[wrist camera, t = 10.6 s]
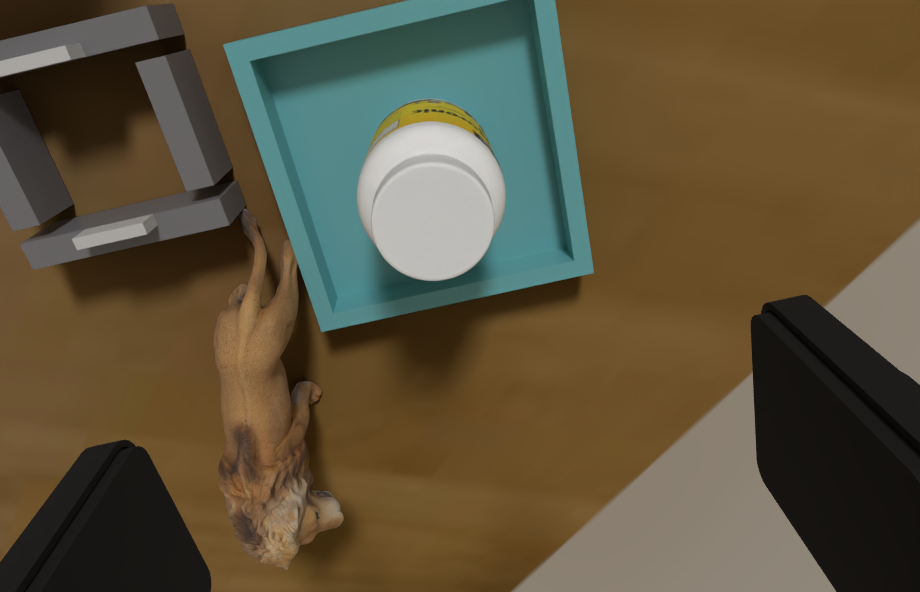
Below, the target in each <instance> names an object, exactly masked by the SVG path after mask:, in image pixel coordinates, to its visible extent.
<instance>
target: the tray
mask: <svg viewBox="0 0 920 592" xmlns="http://www.w3.org/2000/svg"><path fill="white" fill-rule="evenodd" d="M223 46H224V49H225V52H226V55H227V58H228V61H229V64H230V66H231V69H232V72H233V75H234V78H235V81H236V84H237V87H238V90H239V93H240V96H241V99H242V101H243V104H244V107H245V110H246V113H247V116H248V119H249V122H250V125H251V128H252V131H253V134H254V136H255V139H256V142H257V145H258V148H259V151H260V154H261V157H262V160H263V163H264V166H265V169H266V172H267V174H268V177H269V180H270V183H271V186H272V189H273V192H274V195H275V198H276V201H277V204H278V207H279V209H280V212H281V215H282V218H283V221H284V224H285V227H286V230H287V233H288V236H289V239H290V242H291V244H292V247H293V250H294V253H295V256H296V259H297V262H298V265H299V268H300V271H301V274H302V277H303V279H304V282H305V285H306V288H307V291H308V294H309V297H310V300H311V303H312V306H313V309H314V312H315V314H316V317H317V320H318V323H319V326H320V329H321V332H325V331H329V330H334V329H338V328H343V327H348V326H352V325H357V324H361V323H366V322H371V321H375V320H380V319H384V318H389V317H394V316H398V315H403V314H407V313H412V312H417V311H421V310H426V309H430V308H435V307H440V306H444V305H449V304H453V303H458V302H463V301H467V300H472V299H476V298H481V297H486V296H490V295H495V294H499V293H504V292H509V291H513V290H518V289H522V288H527V287H532V286H536V285H541V284H545V283H550V282H555V281H559V280H564V279H568V278H573V277H578V276H582V275H587V274H591V273H594V271H593V264H592V257H591V249H590V242H589V235H588V228H587V221H586V214H585V207H584V200H583V193H582V186H581V179H580V172H579V165H578V158H577V151H576V144H575V137H574V130H573V123H572V116H571V109H570V102H569V95H568V88H567V81H566V74H565V67H564V60H563V53H562V46H561V39H560V32H559V25H558V18H557V11H556V4H555V0H406V1H402V2H398V3H393V4H389V5H385V6H381V7H376V8H372V9H368V10H364V11H360V12H355V13H351V14H347V15H343V16H339V17H334V18H330V19H326V20H322V21H317V22H313V23H309V24H305V25H301V26H296V27H292V28H288V29H284V30H280V31H275V32H271V33H267V34H263V35H258V36H254V37H250V38H246V39H242V40H238V41H234V42H230V43H227V44H223ZM419 99H440V100H445V101H448V102H451V103H453V104H455V105H457V106H459V107H461V108H463V109H464V110H466V111H467V112H468V113H469V114H470V115H471V116H473V118H474V119H475V120H476V121H477V122H478V123H479V125H480V126H481V128H482V129H483V131H484V133H485V135H486V136H487V138H488V141H489V143H490V146H491V148H492V150H493V152H494V155H495V157H496V159H497V161H498V163H499V165H500V168H501V171H502V175H503V178H504V183H505V189H506V204H505V210H504V215H503V219H502V222H501V224H500V226H499V228H498V230H497V232H496V234H495V235H494V237H493V238H492V240H491V243H490V246H489V248H488V250H487V251H486V253H485V254H484V256H483V257H482V258H481V260H480V261H479V262H478V263H477V264H476V265H474V266H473V267H472V268H471V269H470V270H468V271H466V272H465V273H463V274H461V275H459V276H457V277H454V278H451V279H447V280H441V281H425V280H420V279H415V278H412V277H409V276H407V275H405V274H403V273H401V272H399V271H398V270H396V269H395V268H394V267H392V266H391V265H390V264H389V263H388V262H387V261H386V260H385V259H384V257H383V256H382V255H381V253H380V252H379V250H378V248H377V247H376V245H375V244H374V243H373V242H372V240H371V239H370V238H369V236H368V235H367V233H366V231H365V229H364V227H363V225H362V222H361V220H360V216H359V212H358V207H357V186H358V179H359V175H360V172H361V169H362V166H363V164H364V161H365V158H366V155H367V152H368V149H369V147H370V144H371V141H372V139H373V137H374V135H375V133H376V131H377V129H378V127H379V125H380V124H381V123H382V121H383V120H384V119H385V118H386V117H387V116H388V115H389V114H390V113H391V112H393V111H394V110H395V109H397V108H398V107H400V106H402V105H404V104H406V103H408V102H411V101H415V100H419Z"/></svg>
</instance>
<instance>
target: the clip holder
mask: <svg viewBox="0 0 920 592" xmlns="http://www.w3.org/2000/svg"><path fill="white" fill-rule="evenodd" d="M179 35H184V32H183V30H182V27H181V24H180V21H179V19H178V16H177V13H176V10H175V8H174V5H173V4H163V5H147V6H142V7H138V8H134V9H130V10H126V11H122V12H117V13H113V14H109V15H105V16H101V17H97V18H93V19H88V20H84V21H80V22H76V23H72V24H68V25H63V26H59V27H55V28H51V29H47V30H43V31H39V32H34V33H30V34H26V35H22V36H18V37H14V38H10V39H5V40H1V41H0V78H3V77H7V76H12V75H16V74H20V73H24V72H28V71H33V70H37V69H41V68H45V67H49V66H54V65H58V64H62V63H66V62H70V61H75V60H79V59H83V58H87V57H91V56H96V55H100V54H104V53H108V52H112V51H116V50H121V49H125V48H129V47H133V46H137V45H142V44H146V43H150V42H154V41H158V40H163V39H167V38H171V37H175V36H179ZM135 64H136V66H137V69H138V71H139V74H140V76H141V79H142V81H143V84H144V86H145V89H146V91H147V94H148V96H149V99H150V101H151V104H152V106H153V109H154V111H155V114H156V116H157V119H158V121H159V124H160V126H161V129H162V131H163V134H164V136H165V139H166V141H167V144H168V146H169V149H170V151H171V154H172V156H173V159H174V161H175V164H176V166H177V169H178V171H179V174H180V176H181V179H182V181H183V184H184V186H185V189H186V191H188V192H184V193H179V194H175V195H171V196H166V197H162V198H157V199H153V200H149V201H144V202H140V203H136V204H131V205H127V206H122V207H118V208H114V209H109V210H105V211H100V212H96V213H92V214H87V215H83V216H79V217H74V218H70V219H65V220H61V221H57V222H54V223H52V224H51V225H49V226H48V227H46V228H44V229H43V230H41V231H40V232H38V233H37V234H35V235H34V236H32V237H30V238H29V239H27V240H26V241H24V242H23V243H21V244H20V245H21V247H22V249H23V251H24V253H25V255H26V257H27V259H28V261H29V263H30V265H31V266H32V268H33V270H34V269H39V268H43V267H48V266H52V265H56V264H61V263H65V262H70V261H74V260H79V259H83V258H87V257H92V256H96V255H101V254H105V253H110V252H114V251H118V250H123V249H127V248H132V247H136V246H141V245H145V244H150V243H154V242H158V241H163V240H167V239H172V238H176V237H181V236H185V235H189V234H194V233H198V232H203V231H207V230H212V229H216V228H220V227H225V226H229V225H230V224H231V223H232V222H233V221H234V219H235V218H236V217H237V216H238V214H239V213H240V212H241V211H242V209H243V208H244V207H245V206H246V203H245V200H244V197H243V195H242V192H241V189H240V186H239V184H238V181H237V180H236V181H232V182H228V183H223V184H219V185H215V184H216V183H217V182H218V181H219V180H220V179H221V178H222V177H223V176H224V175H225V174H227V173H228V172H229V171H230V170H231V169H232V168H233V167H232V164H231V162H230V159H229V156H228V153H227V151H226V148H225V145H224V142H223V140H222V137H221V134H220V131H219V129H218V126H217V123H216V120H215V118H214V115H213V112H212V109H211V107H210V104H209V101H208V98H207V96H206V93H205V90H204V87H203V85H202V82H201V79H200V76H199V74H198V71H197V68H196V65H195V63H194V60H193V57H192V54H191V52H190V49H188V50H184V51H180V52H176V53H171V54H167V55H163V56H159V57H155V58H151V59H148V60H144V61H140V62H136V63H135ZM213 185H214V186H213ZM208 186H210V187H208ZM204 187H206V188H204ZM200 188H201V189H200ZM195 189H197V190H195ZM191 190H192V191H191ZM71 205H73V202H72V200H71V198H70V195H69V193H68V191H67V189H66V187H65V185H64V183H63V181H62V179H61V177H60V174H59V172H58V170H57V168H56V166H55V164H54V162H53V160H52V158H51V156H50V153H49V151H48V149H47V147H46V145H45V143H44V141H43V139H42V137H41V135H40V132H39V130H38V128H37V126H36V124H35V122H34V120H33V118H32V116H31V114H30V111H29V109H28V107H27V105H26V103H25V101H24V99H23V97H22V95H21V93H20V90H16V91H11V92H7V93H3V94H0V207H1V209H2V211H3V213H4V215H5V217H6V219H7V221H8V223H9V225H10V226H11V228H12V230H13V231H16V230H20V229H24V228H29V227H33V226H38V225H41V224H42V223H44V222H46V221H47V220H49V219H50V218H52V217H54V216H55V215H57V214H59V213H60V212H62V211H63V210H65V209H67V208H68V207H70V206H71Z"/></svg>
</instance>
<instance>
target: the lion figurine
mask: <svg viewBox="0 0 920 592" xmlns="http://www.w3.org/2000/svg"><path fill="white" fill-rule="evenodd" d="M238 217H239V220H240V222H241V224H242V228H243V231H244V233H245V235H246V236H247V237H248V238H249V239H250V241H251V242H252V244H253V247H254V251H255V257H254V264H253V269H252V273H251V277H250V280H249V282H248V285H245V284H240V285H238V287H237V288H236V289H234V290H233V292H232V293H231V295H230V297H229V300H228V303H229V306H228V308H227V309H226V310H224V311H222V312H221V313H220V314H219V316H218V318H217V322H216V326H215V333H214V350H215V361H216V366H217V369H218V372H219V374H220V379H221V413H222V419H223V424H224V429H225V436H226V444H225V449H224V455H223V457H222V458H221V461H220V464H219V470H218V473H219V488H220V489H221V491H222V493H223V494H224V495H225V497H226V498H225V503H226V509H227V511H228V518H229V521H230V524H231V525H232V526H234V527H235V529H236V530H235V536H236V537H237V538H238V539H239V540H240V541H241V542H242V547H243V549H244V550H245V552H246V553H248V554H250V555H251V556H253V557H256V558H258V559H259V561H260V562H261V563H263V564H273V565H274V566H276V567H283V568H284V569H285V570H288V566H289V564H290V563H291V560H292V559H293V558H294V557H295V555H296V554H297V552H298V550H299V546H300V545H305V544H308V543H310V542H311V541H313V539H314V538H315V536H316V534H317V533H319V532H322V531H325V530H328V529H333V528H337V527H339V526H340V525H341V523H342V522H343V519H344V517H343V514H342V512H341V511H340V505H339V503H338V501H337V500H336V499H335V498H333V497H332V494H331V493H330V492H328V491H315V490H313V489H312V485H313V480H314V478H313V475H312V473H311V472H310V470H309V453H308V447H307V444H306V440H305V434H306V431H307V428H308V423H309V418H310V410H309V404H313V403H314V402H316V401H318V400H319V398H320V395H321V394H322V390H321V389H320V388H319V387H318V386H317V385H316V384H315V383H313V382H311V381H303V382H299V383H297V384H296V386H295V388H294V389H293V391H292V394H291V397H290V393H289V388H288V381H287V376H286V371H285V368H284V366H283V363H282V361H281V358H280V356H281V355H282V353H283V352H284V350H285V348H286V346H287V344H288V342H289V340H290V337H291V335H292V332H293V328H294V323H295V319H296V316H297V311H298V297H299V296H298V280H297V266H298V262H297V259H296V256H295V253H294V250H293V247H292V244H291V242H290V239H287V240H285V241H284V242H283V245H282V252H281V256H280V270H281V280H280V283H279V286H278V288H277V291H276V294H275V296H274V297H273V298H272V299H271V300H270V301H269V302H268V303H267V304H266V305H265V306H264V307H261V302H260V298H261V291H262V286H263V282H264V277H265V271H266V263H267V252H266V248H265V244H264V241H263V239H262V237H261V235H260V233H259V231H258V227H257V220H256V219H255V218H254V217H253V216H252V214H251V213H250V212H249V211H248V210H247V209H242V211H241V212H240V213H239V214H238ZM291 401H292V403H291Z"/></svg>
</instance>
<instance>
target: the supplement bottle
mask: <svg viewBox="0 0 920 592" xmlns="http://www.w3.org/2000/svg"><path fill="white" fill-rule="evenodd" d="M505 204H506V189H505V183H504V178H503V175H502V171H501V168H500V165H499V163H498V161H497V159H496V157H495V155H494V152H493V150H492V148H491V146H490V143H489V141H488V138H487V136H486V135H485V133H484V131H483V129H482V128H481V126H480V125H479V123H478V122H477V121H476V120H475V119H474V118H473V116H471V115H470V114H469V113H468V112H467V111H466V110H464V109H463V108H461V107H459V106H457V105H455V104H453V103H451V102H448V101H445V100H440V99H419V100H415V101H411V102H408V103H406V104H404V105H402V106H400V107H398V108H397V109H395V110H394V111H393V112H391V113H390V114H389V115H388V116H387V117H386V118H385V119H384V120H383V121H382V123H381V124H380V125H379V127H378V129H377V131H376V133H375V135H374V137H373V139H372V141H371V144H370V147H369V149H368V152H367V155H366V158H365V161H364V164H363V166H362V169H361V172H360V175H359V179H358V186H357V207H358V212H359V216H360V220H361V222H362V225H363V227H364V229H365V231H366V233H367V235H368V236H369V238H370V239H371V240H372V242H373V243H374V244H375V245H376V247H377V248H378V250H379V252H380V253H381V255H382V256H383V257H384V259H385V260H386V261H387V262H388V263H389V264H390V265H391V266H392V267H394V268H395V269H396V270H398V271H399V272H401V273H403V274H405V275H407V276H409V277H412V278H415V279H420V280H425V281H441V280H447V279H451V278H454V277H457V276H459V275H461V274H463V273H465V272H466V271H468V270H470V269H471V268H472V267H473V266H474V265H476V264H477V263H478V262H479V261H480V260H481V258H482V257H483V256H484V254H485V253H486V251H487V250H488V248H489V246H490V243H491V240H492V238H493V237H494V235H495V234H496V232H497V230H498V228H499V226H500V224H501V222H502V219H503V215H504V210H505Z"/></svg>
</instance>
